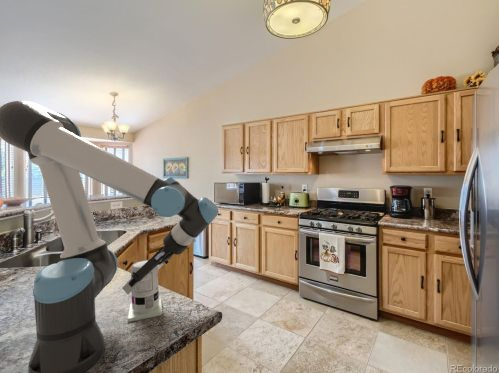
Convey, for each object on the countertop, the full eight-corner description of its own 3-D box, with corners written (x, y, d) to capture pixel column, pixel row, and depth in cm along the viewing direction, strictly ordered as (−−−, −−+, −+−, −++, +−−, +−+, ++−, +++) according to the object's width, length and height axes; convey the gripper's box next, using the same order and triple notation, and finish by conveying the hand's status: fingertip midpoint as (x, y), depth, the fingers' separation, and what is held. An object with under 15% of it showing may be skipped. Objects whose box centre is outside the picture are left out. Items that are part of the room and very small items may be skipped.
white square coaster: (162, 314, 81) (162, 311, 80) (127, 321, 77) (127, 318, 77) (161, 300, 90) (161, 297, 90) (130, 306, 86) (130, 303, 86)
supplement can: (126, 310, 81) (124, 265, 81) (147, 299, 89) (146, 258, 88) (143, 317, 78) (141, 269, 77) (164, 304, 85) (162, 261, 84)
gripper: (169, 259, 68) (121, 309, 71) (201, 236, 92) (164, 274, 95) (151, 239, 68) (104, 290, 71) (187, 222, 93) (151, 260, 96)
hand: (138, 281), depth 83 cm, fingers open, 13 cm apart
